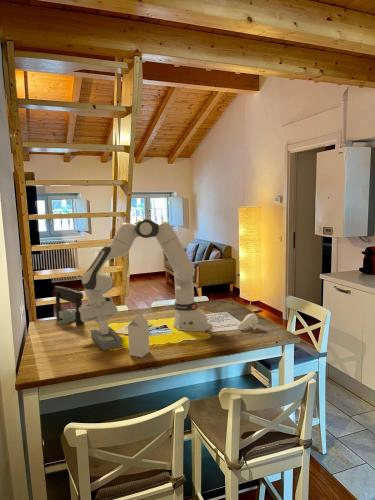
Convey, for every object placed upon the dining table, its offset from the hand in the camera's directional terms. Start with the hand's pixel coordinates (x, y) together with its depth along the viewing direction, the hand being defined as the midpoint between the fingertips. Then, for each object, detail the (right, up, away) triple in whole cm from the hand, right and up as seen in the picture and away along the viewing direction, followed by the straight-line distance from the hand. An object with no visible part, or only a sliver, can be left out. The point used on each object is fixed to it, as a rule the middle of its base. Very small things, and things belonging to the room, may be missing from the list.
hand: (102, 325), depth 193 cm
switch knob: (+1, -4, -2) cm, 5 cm away
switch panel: (+3, -8, -4) cm, 9 cm away
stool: (-28, -4, +32) cm, 43 cm away
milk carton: (+23, -10, -21) cm, 33 cm away
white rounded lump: (+80, -4, +9) cm, 81 cm away
